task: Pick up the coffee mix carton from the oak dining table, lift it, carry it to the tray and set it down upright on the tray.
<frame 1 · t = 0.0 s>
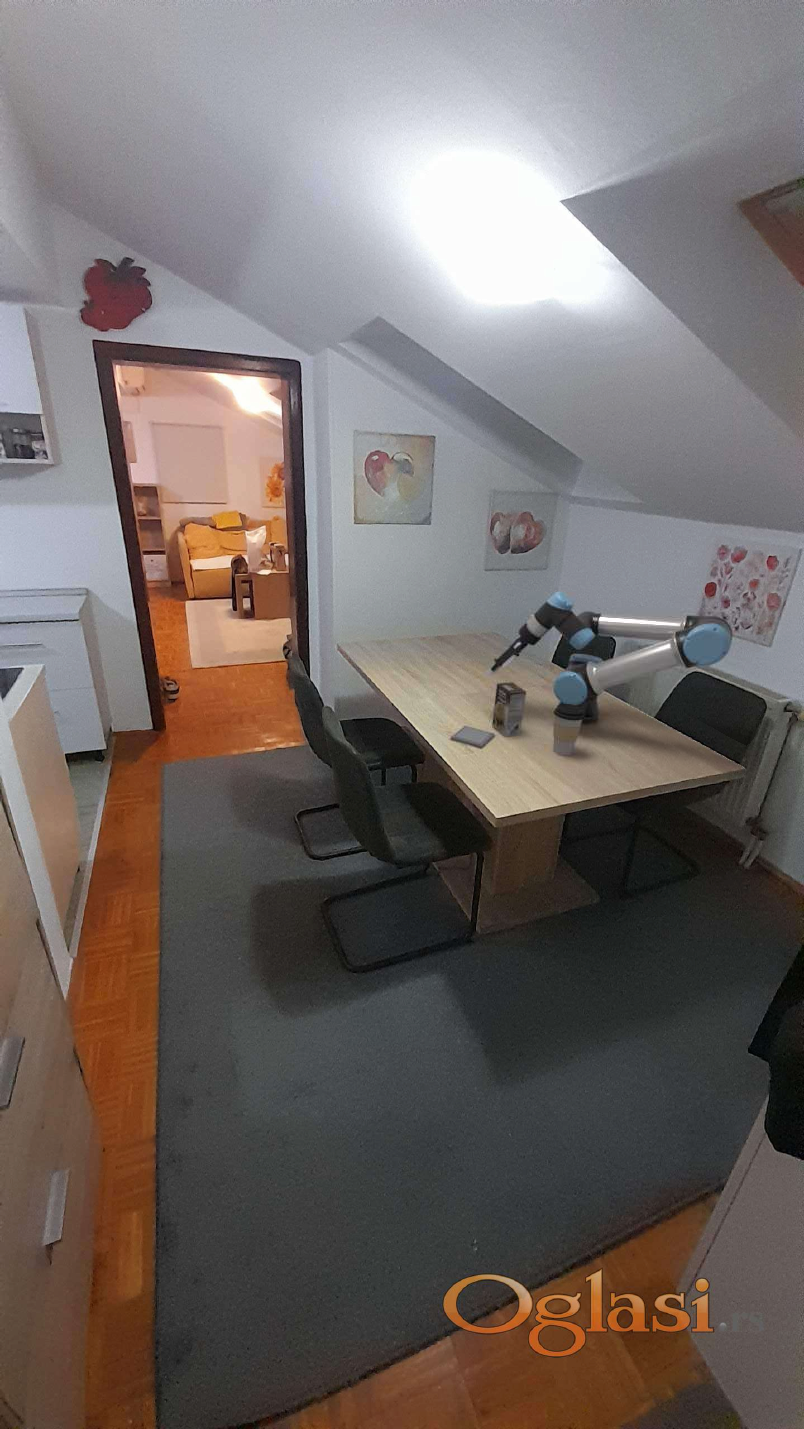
hand: (494, 670, 212), 15 cm above the table, tool tilted 35°, fingers open, 13 cm apart
tray: (472, 738, 194), on the table
coffee box: (505, 731, 201), on the table
coffee cup: (562, 752, 188), on the table
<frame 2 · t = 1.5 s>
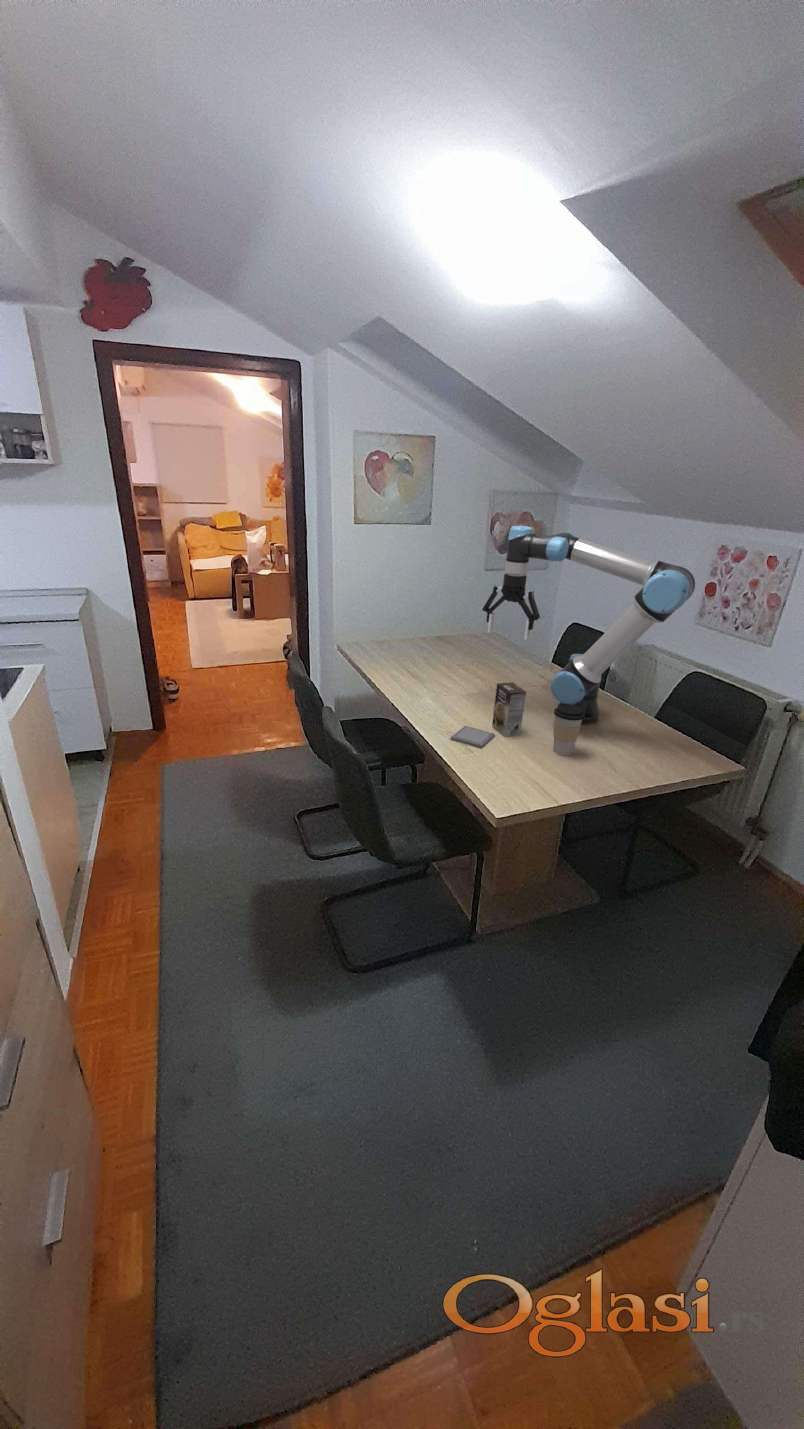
hand: (507, 635, 206), 29 cm above the table, tool pointing down, fingers open, 13 cm apart
nothing on the table moved.
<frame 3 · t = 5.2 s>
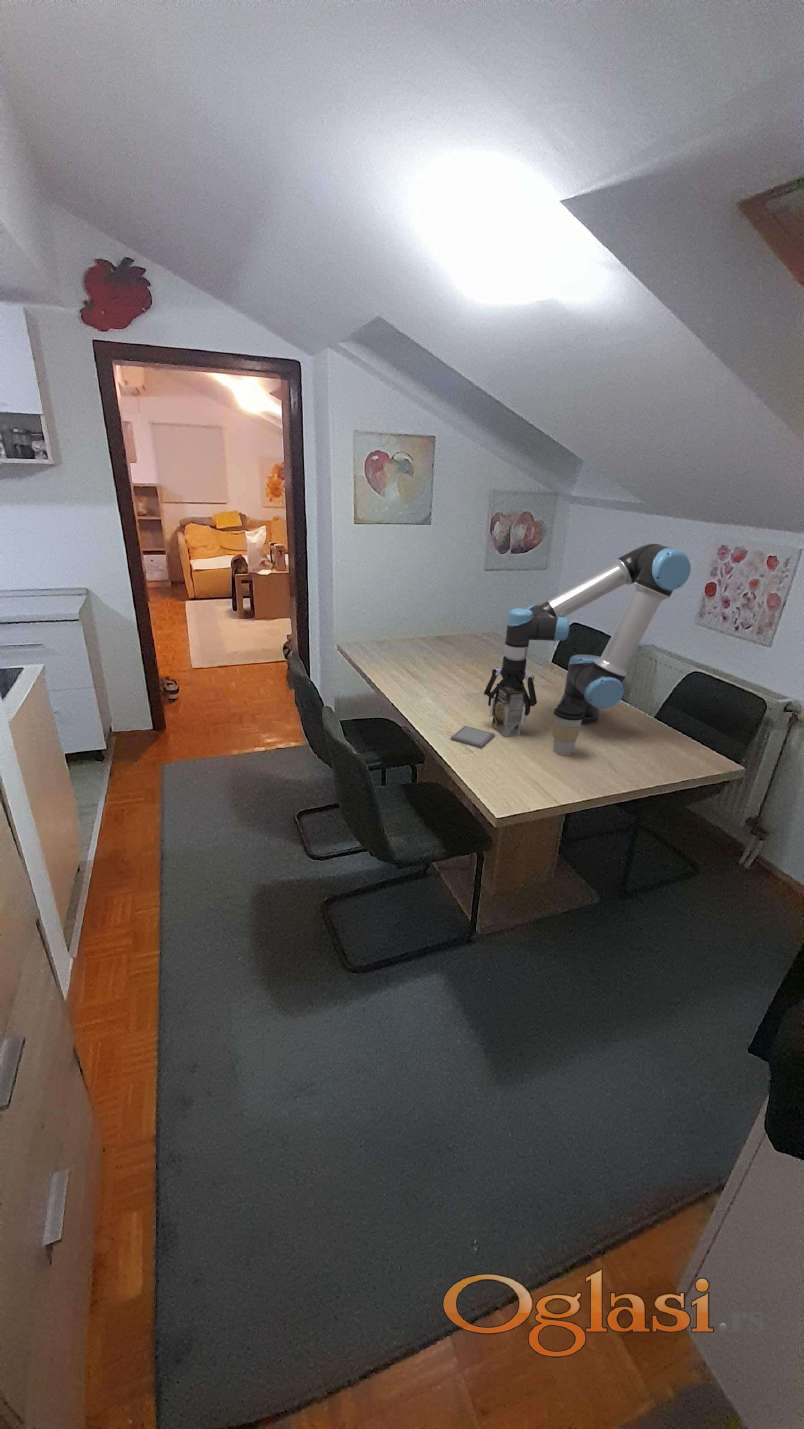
hand: (507, 719, 199), 4 cm above the table, tool pointing down, fingers closed on coffee box, 10 cm apart
coffee box: (505, 731, 201), on the table, touching gripper
everything else where it was.
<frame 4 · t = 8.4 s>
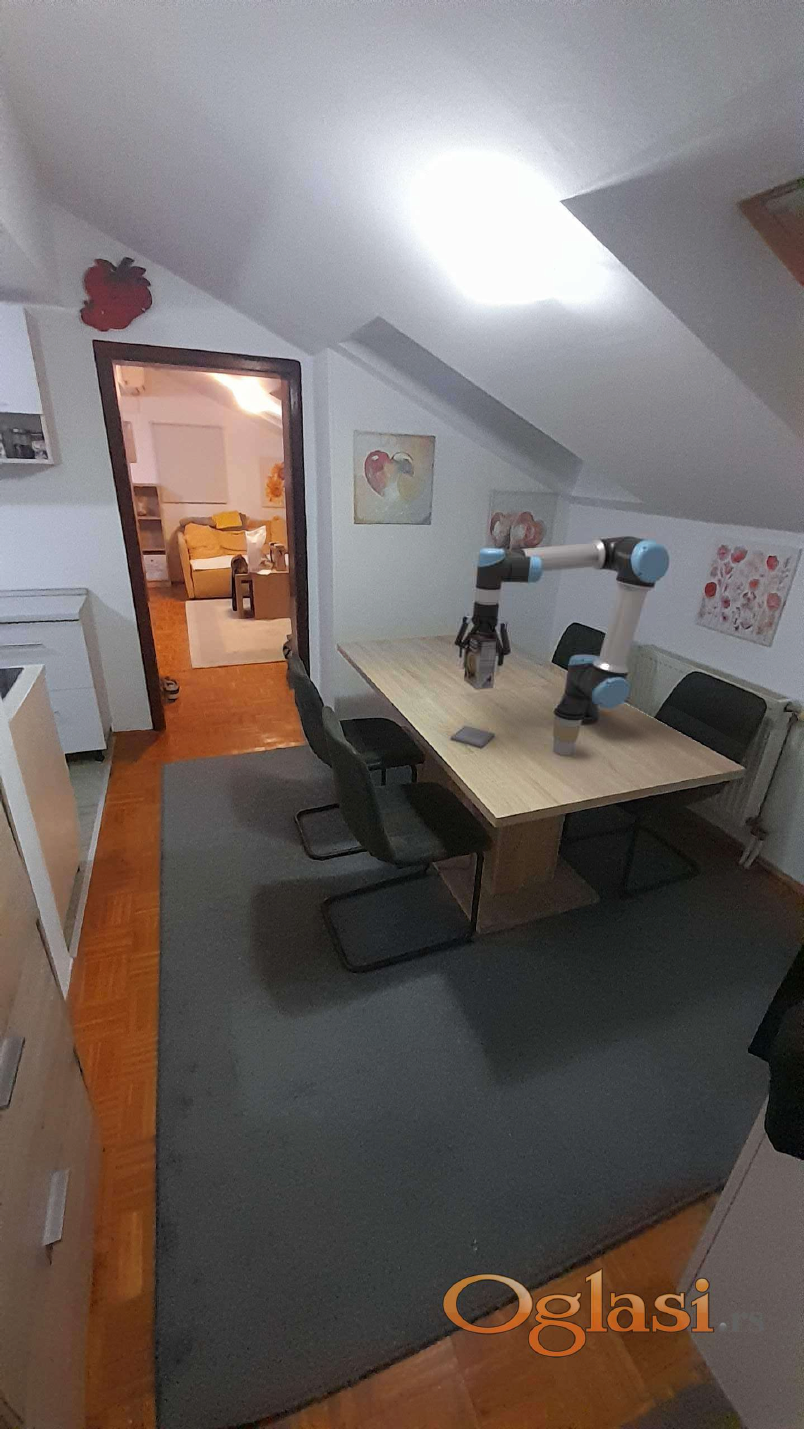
hand: (479, 671, 185), 23 cm above the table, tool pointing down, fingers closed on coffee box, 10 cm apart
coffee box: (478, 684, 187), point 19 cm above the table, touching gripper
everything else where it was.
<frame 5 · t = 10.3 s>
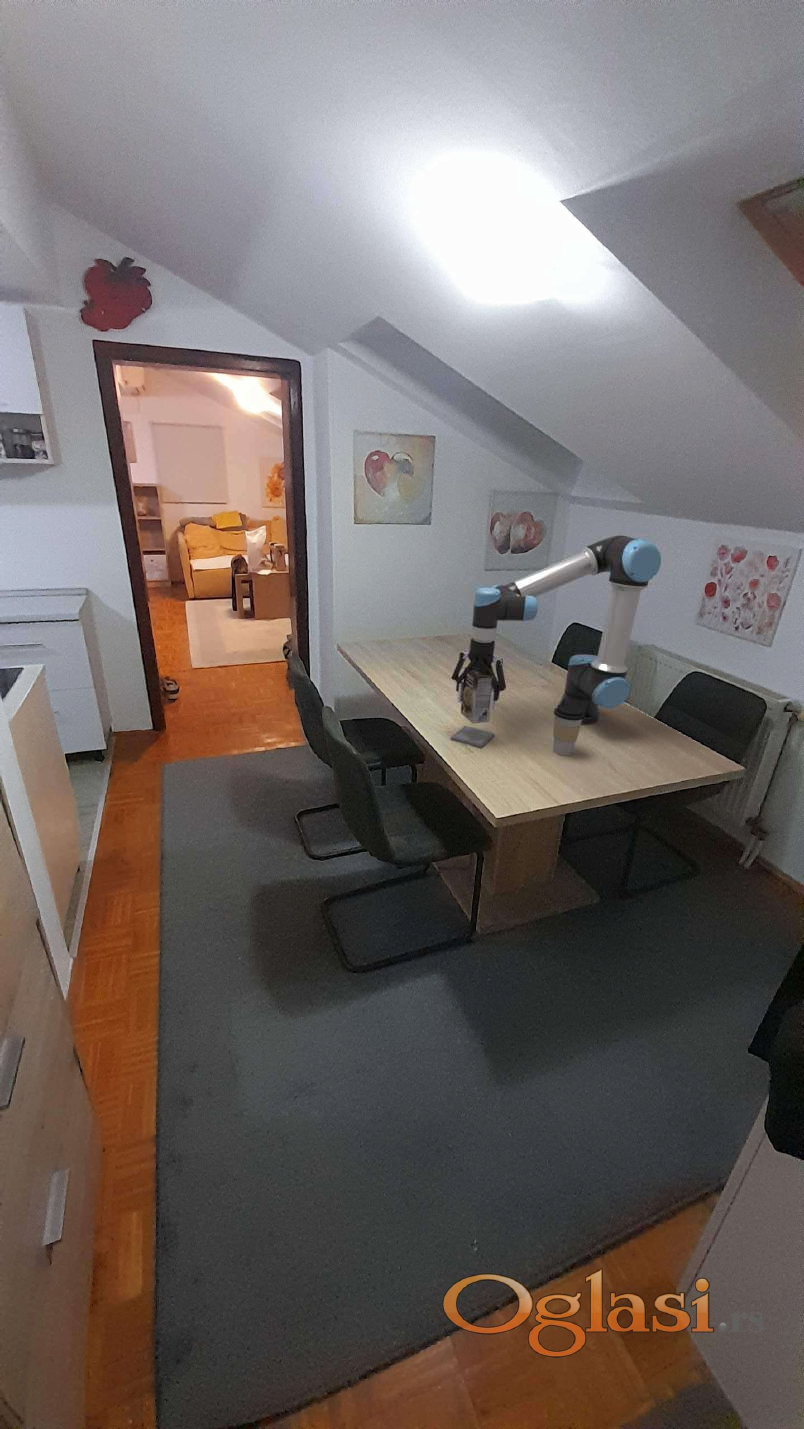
hand: (475, 705, 190), 12 cm above the table, tool pointing down, fingers closed on coffee box, 10 cm apart
coffee box: (474, 718, 191), point 7 cm above the table, touching gripper
everything else where it was.
when the fingers open (6 cm above the table, at t = 12.0 s): coffee box stays where it is, resting on tray.
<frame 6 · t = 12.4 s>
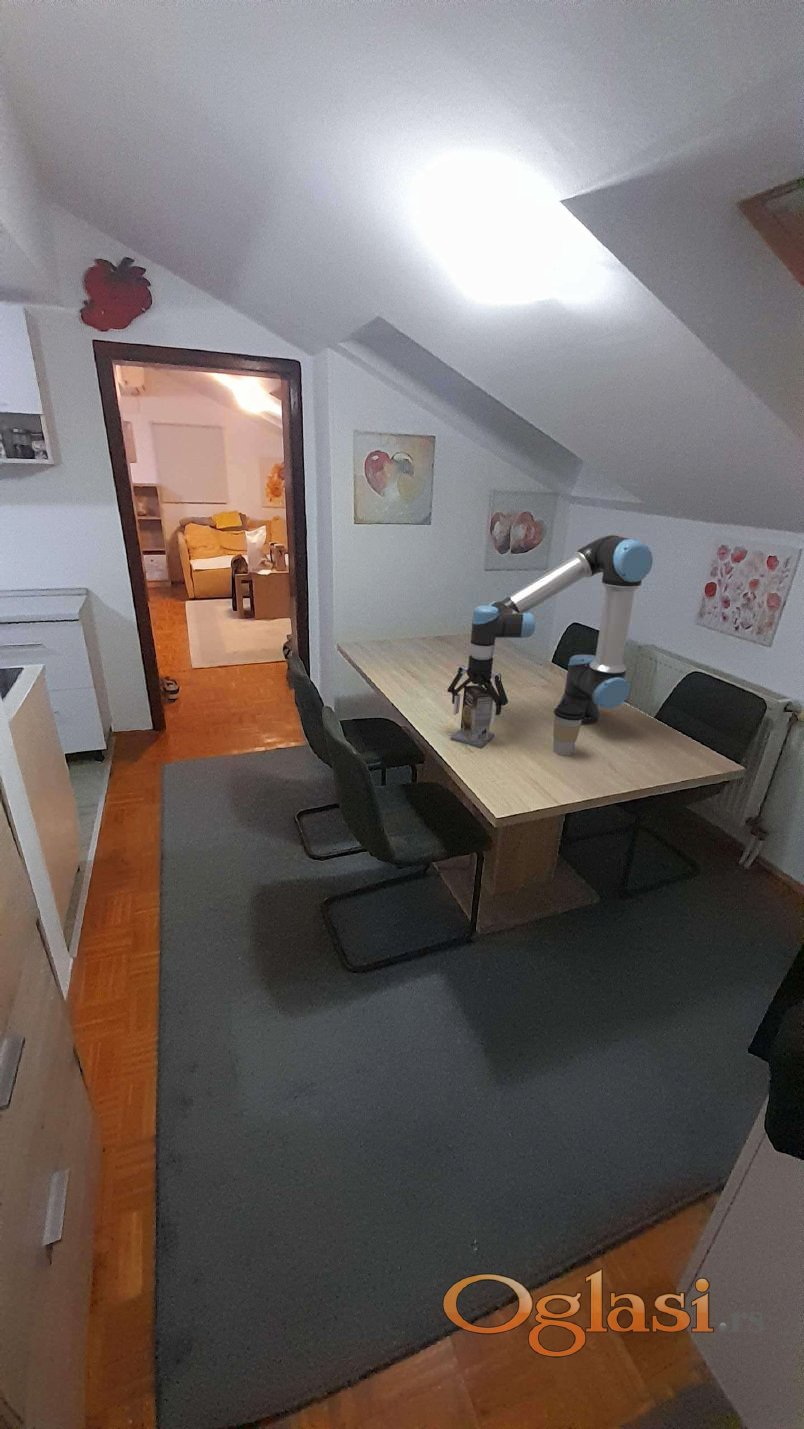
hand: (474, 718, 191), 7 cm above the table, tool pointing down, fingers open, 13 cm apart
coffee box: (474, 735, 194), point 1 cm above the table, touching tray
everything else where it was.
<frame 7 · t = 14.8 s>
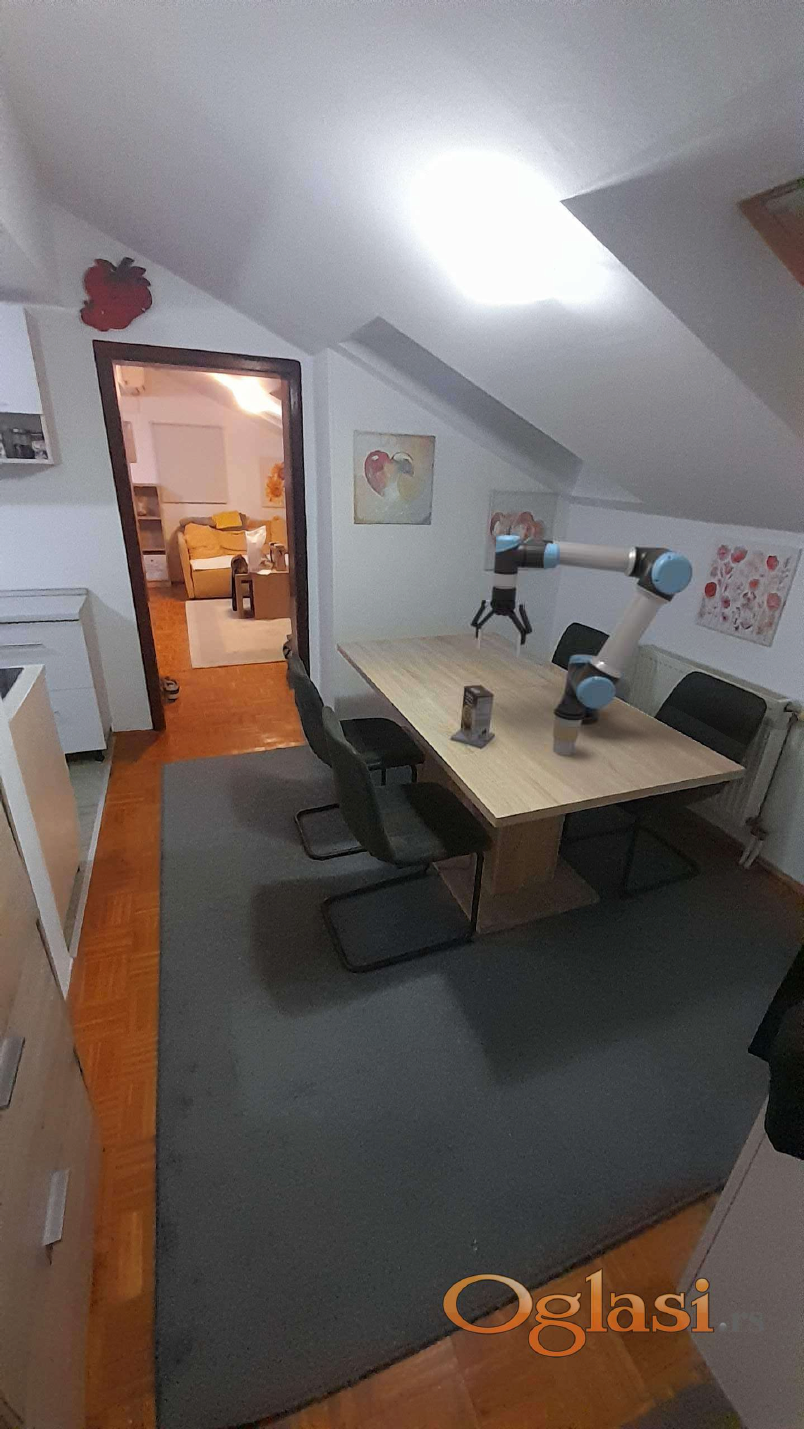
hand: (499, 650, 194), 27 cm above the table, tool pointing down, fingers open, 13 cm apart
nothing on the table moved.
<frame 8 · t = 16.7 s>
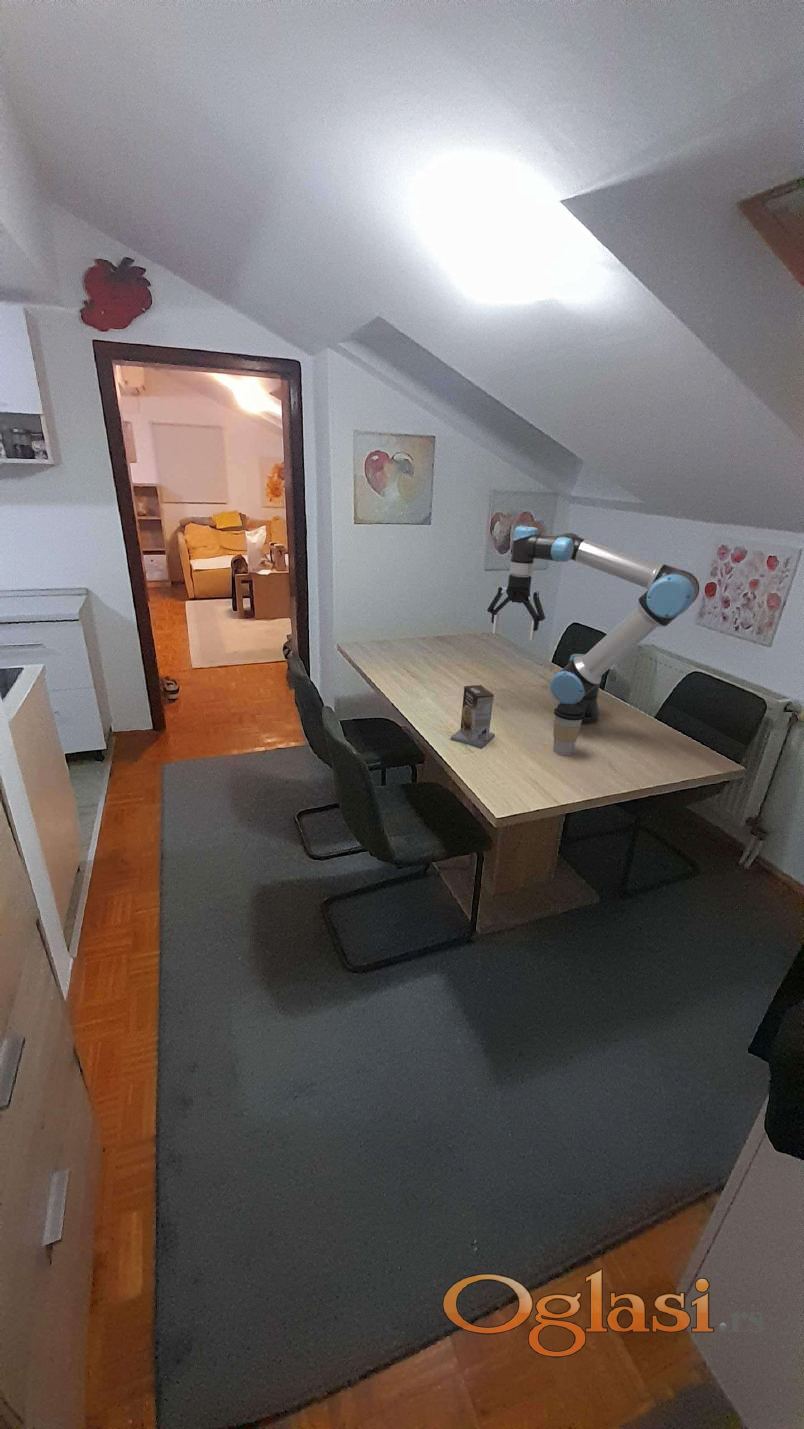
hand: (512, 636, 205), 29 cm above the table, tool pointing down, fingers open, 13 cm apart
nothing on the table moved.
at the end: coffee box inside the target area on the tray (0.3 cm from its centre), point 0.9 cm above the tray's base; coffee box tilted 0°; the gripper is holding nothing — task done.
